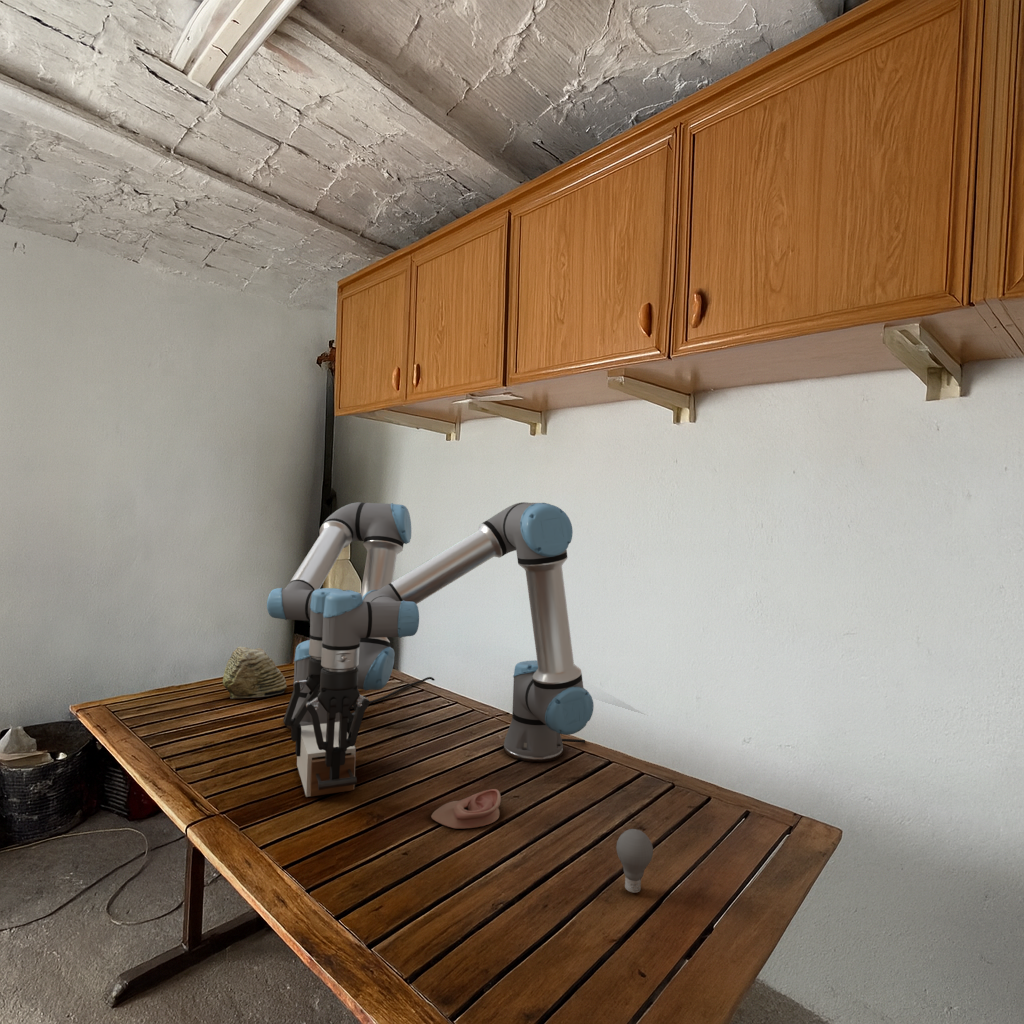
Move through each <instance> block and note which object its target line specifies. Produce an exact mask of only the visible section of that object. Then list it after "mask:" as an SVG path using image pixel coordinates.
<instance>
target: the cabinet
mask: <svg viewBox="0 0 1024 1024" xmlns="http://www.w3.org/2000/svg"><path fill="white" fill-rule="evenodd" d="M320 727H321V731H322V736H323V741H324V742H326V727H327V723H325V724H320ZM348 735H349V734H348V732H347V738H348ZM338 741H339V722H335V729H334V747H339V745H338ZM356 752H357V748H356V745H354V746H350V747H348V748H347V750H346V753H348V754H349V755H354V756H355V758H356V754H357V753H356ZM325 754H326V751H325V750H319V748H318V746H317V742H316V738H315V733H314V728H313V725H307V726H301V749H300V756H298V757H297V756H296V766H297V771H298V774H299V777H300V780H301V784H302V787H303V788H302V789H303V791H304V795H305V797H306V798H308V797H311V796H310V778H311V760H312V758H315V757H322V756H325ZM355 776H356V764H355V765H354V777H355Z"/></svg>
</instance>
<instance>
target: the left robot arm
mask: <svg viewBox="0 0 1024 1024" xmlns="http://www.w3.org/2000/svg"><path fill="white" fill-rule="evenodd" d="M318 531H319V535H318V537H317V539H316V540H315V542H314V543H313V545H312V547H311V548H310V550H309V551H308V553H307V555H306V556H305V557H304V559H303V560H302V562H301V564H300V565H299V566H298V568H297V570H296V571H295V573H294V575H293V576H292V578H291V579H290V580H289V582H288V583H287V585H286V587H284V588H283V587H277V588H274V589H272V590H271V591H270V592H269V594H268V597H267V600H266V609H267V613H268V615H269V616H270V617H271V618H273V619H278V620H286V621H287V620H288V621H307V622H308V621H309V626H310V627H309V639H307V640H304V641H302V642H300V643H298V644H297V645H296V647H295V654H294V659H293V661H294V670H293V671H294V672H293V686H292V687H293V688H292V689H293V690H292V693H291V697H290V699H289V701H288V704H287V707H286V711H285V713H284V717H283V719H282V721H283V724H284V726H286V728H287V729H289V730H291V732H290V738H291V741H292V742H295V756H296V758H297V757H298V756H300V749H301V726H307V725H313V723H312V718H311V714H310V713H309V711H308V710H307V708H306V705H305V704H306V702H308V701H310V702H311V701H312V700H314V699H315V698H316V697H317V693H318V692H319V690H320V676H321V669H322V668H323V667H322V665H321V657H322V638H323V613H324V606H325V598H326V596H327V595H328V594H329V593H331V592H335V591H353V592H356V591H355V590H352V589H351V590H350V589H341V588H334V587H323V588H322V586H323V584H324V582H325V581H326V579H327V577H328V575H329V574H330V572H331V570H332V569H333V567H334V565H335V563H336V562H337V560H338V558H339V557H340V555H341V553H342V551H343V549H346V548H347V547H348V546H349V545H350V544H351V543H352V542H363V543H362V545H363V547H364V548H365V549H366V552H367V553H366V558H365V564H364V565H365V567H364V572H363V577H362V582H361V583H362V584H361V590H360V594H361V595H362V597H363V596H364V595H365V594H366V593H367V592H369V591H371V590H379V589H381V588H383V587H384V586H386V585H388V584H390V583H391V582H393V581H394V578H395V577H394V576H395V570H396V565H397V558H398V554H400V553H401V552H403V551H404V546H405V545H407V544H410V542H411V539H412V521H411V515H410V512H409V509H408V508H407V506H406V505H404V504H400V503H399V504H398V503H393V502H391V503H385V502H383V503H382V502H363V501H358V502H351V503H348V504H346V505H344V506H341V507H340V508H338V509H336V510H335V511H334V512H332V513H330V514H329V516H328V517H327V518H326V519H325V520H324V521H323V523H322V524H321V526H320V527H319V530H318ZM390 645H391V641H390V640H389V639H388V637H380V638H360V646H359V665H358V666H357V668H358V690H364V691H379V690H382V689H383V688H384V687H385V686H386V685H387V684H388V683H389V681H390V678H391V675H392V673H393V670H394V666H395V665H394V664H395V657H396V656H395V650H394V648H393V647H391V646H390ZM428 680H431V681H436V679H435V678H434V677H432V676H428V677H425V678H422V679H421V680H417V681H414V682H412V683H409V684H407V685H405V686H403V687H401V688H399V689H397V690H394V691H392V692H390V693H388V694H386V695H383V696H381V697H379V698H376V699H372V700H369V701H370V704H369V705H371V704H374V703H377V702H379V701H383V700H385V699H387V698H390V697H392V696H394V695H396V694H397V693H399V692H402V691H404V690H406V689H407V688H410V687H412V686H415V685H419V684H421V683H423V682H426V681H428ZM318 706H319V709H318V710H317V714H318V717H319V722H320V724H325V723H327V711H326V710H325V709H324V708H323V706H322V705H321V703H319V704H318ZM356 708H357V700H356V702H355V703H354V705H353V706H352V707H351V709H350V710H349V713H348V723H347V732H348V734H349V732H350V728H351V725H352V721H353V718H354V714H355V711H356ZM351 710H353V711H354V712H351ZM339 720H340V713H336V718H335V722H339Z"/></svg>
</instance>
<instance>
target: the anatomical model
mask: <svg viewBox="0 0 1024 1024" xmlns="http://www.w3.org/2000/svg"><path fill="white" fill-rule="evenodd" d="M501 802H502V796H501V792H500V791H499V790H498V789H496V788H491V789H486V790H483V791H480V792H477V793H474V794H472V795H469V796H468V797H465V798H463V799H460V800H452V801H449V802H447V803H445V804H443V805H441V806H439V807H438V808H437V809H435V810H434V811H433V812H432V814H431V815H430V817H431V819H432V820H433V821H435V822H436V823H439V824H440V825H442V826H445V827H448V828H450V829H458V830H459V829H464V830H465V829H474V828H479V827H480V828H481V827H484V826H488V825H491V824H492V823H495V822H496V821H497V820H498V819H499V818H500V814H501V813H500V809H499V807H500V805H501Z"/></svg>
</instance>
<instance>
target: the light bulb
mask: <svg viewBox="0 0 1024 1024" xmlns="http://www.w3.org/2000/svg"><path fill="white" fill-rule="evenodd" d="M615 849H616V854H617V857H618V859H619V861H620V863H621V865H622V867H623V873H624V874H623V875H624V876H625V878H624V888H625V890H627V891H628V892H630V893H634V894H635V893H639V892H640V891H641V889H642V887H641V886H642V879H643V877H644V875H645V871H646V868H647V867H648V866H649V864H650V863H651V861H652V859H653V855H654V847H653V843H652V841H651V838H649V836H648V835H647V834H646V833H645V832H643V831H642V830H641V829H636V828H629V829H627V830H625V831H623V832H622V833H621V834H620V835H619V837H618V839H617V841H616V847H615Z"/></svg>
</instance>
